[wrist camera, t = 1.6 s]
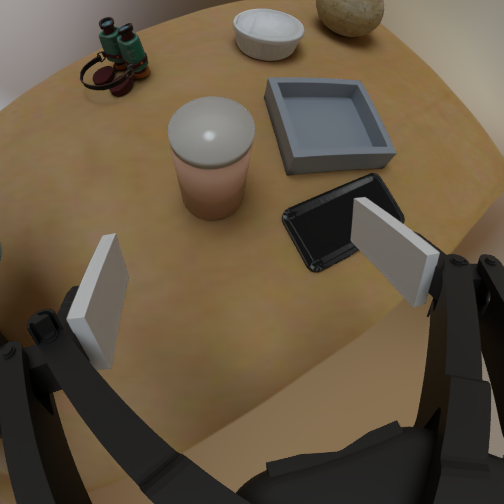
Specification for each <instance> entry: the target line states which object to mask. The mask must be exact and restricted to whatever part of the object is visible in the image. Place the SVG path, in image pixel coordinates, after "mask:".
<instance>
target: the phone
mask: <svg viewBox="0 0 504 504" xmlns="http://www.w3.org/2000/svg"><path fill="white" fill-rule="evenodd" d="M361 197H366V198H367V199H369V200H370V201H372V202H373V203H374V204H376V205H377V206H379V207H380V208H382V209H383V210H384V211H386V212H387V213H389V214H390V215H391V216H393V217H394V218H395V219H397V220H398V221H400V222H401V223H402V224H404V221H405V218H404V215H403V213H402V211H401V210H400V208H399V206H398V205H397V203H396V201H395V200H394V198H393V196H392V195H391V193H390V191H389V190H388V188H387V186H386V185H385V183H384V182H383V180H382V179H381V177H380V176H379V175H377V174H375V173H370V174H368V175H366V176H363V177H361V178H358V179H356V180H354V181H351V182H349V183H346V184H344V185H342V186H339V187H337V188H334V189H332V190H330V191H327V192H325V193H323V194H320V195H318V196H316V197H313V198H311V199H309V200H306V201H304V202H302V203H299V204H297V205H295V206H292V207H290V208H288V209H286V210H285V212H284V213H283V215H282V222H283V225H284V226H285V228H286V230H287V232H288V234H289V235H290V237H291V239H292V241H293V243H294V245H295V246H296V248H297V250H298V252H299V254H300V256H301V257H302V259H303V261H304V263H305V265H306V267H307V268H308V269H309V270H310V271H312V272H319V271H321V270H323V269H325V268H328V267H330V266H332V264H334V263H335V264H336V263H338V262H340V261H341V260H342V259H343V258H344V259H345V258H347V257H349V256H350V255H351V254H353V253H354V252H356V251H358V250H359V249H358V248H357V247H356V246H355V245H354V244H353V243H352V242H351V231H352V219H353V205H354V198H361Z"/></svg>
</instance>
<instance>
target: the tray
mask: <svg viewBox="0 0 504 504" xmlns="http://www.w3.org/2000/svg"><path fill="white" fill-rule="evenodd" d="M264 99H265V102H266V105H267V109H268V112H269V115H270V119H271V122H272V125H273V129H274V132H275V136H276V139H277V142H278V146H279V149H280V153H281V157H282V160H283V164H284V167H285V171H286V175H293V174H304V173H315V172H328V171H343V170H359V169H379V168H384V167H385V166H386V165H387V163H388V162H389V161H390V160H391V159H392V158H393V157H394V156H395V155H396V154H397V153H396V151H395V149H394V146H393V144H392V142H391V140H390V137H389V135H388V133H387V131H386V129H385V127H384V124H383V122H382V120H381V118H380V116H379V114H378V112H377V110H376V108H375V106H374V104H373V102H372V100H371V99H370V97H369V95H368V93H367V91H366V89H365V87H364V86H363V84H362V82H361V81H357V80H345V79H328V78H268V81H267V86H266V91H265V96H264Z"/></svg>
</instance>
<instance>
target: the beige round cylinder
mask: <svg viewBox="0 0 504 504" xmlns="http://www.w3.org/2000/svg"><path fill="white" fill-rule="evenodd" d="M254 133H255V124H254V120H253V118H252V116H251V114H250V113H249V112H248V110H247V109H246V108H245V107H243V106H242V105H241V104H239V103H237V102H235V101H233V100H231V99H228V98H223V97H203V98H198V99H195V100H192V101H190V102H188V103H186V104H185V105H183V106H182V107H180V108H179V109H178V110H177V111H176V112H175V113H174V115H173V116H172V118H171V120H170V122H169V126H168V137H169V142H170V146H171V151H172V155H173V160H174V164H175V169H176V173H177V177H178V182H179V186H180V190H181V194H182V198H183V202H184V204H185V206H186V208H187V209H188V210H189V211H190V212H191V213H192V214H193V215H195V216H196V217H198V218H201V219H204V220H220V219H223V218H226V217H228V216H230V215H231V214H233V213H234V212H235V211H236V210H237V209H238V207H239V206H240V204H241V202H242V199H243V194H244V188H245V182H246V177H247V171H248V166H249V160H250V155H251V149H252V144H253V138H254Z"/></svg>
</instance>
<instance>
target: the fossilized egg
mask: <svg viewBox="0 0 504 504" xmlns="http://www.w3.org/2000/svg"><path fill="white" fill-rule="evenodd" d="M316 7H317V11H318V15H319V17H320V18H321V20H322V22H323V23H324V24H325V25H326V26H327V27H328V28H329V29H330V30H332V31H333V32H335V33H337V34H340V35H343V36H347V37H358V36H363V35H366V34H368V33H370V32H371V31H373V30H374V29H376V27H377V26H378V25H379V24H380V22H381V20H382V17H383V13H384V2H383V0H316Z"/></svg>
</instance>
